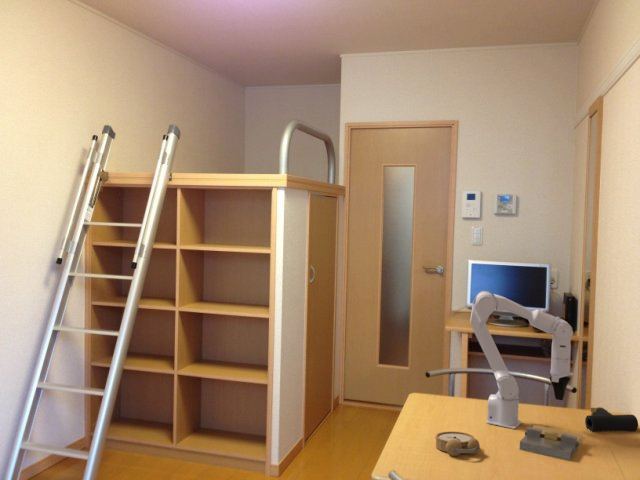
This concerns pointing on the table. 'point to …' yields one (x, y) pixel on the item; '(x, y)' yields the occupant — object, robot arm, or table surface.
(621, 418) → the pipe connector
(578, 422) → the table surface
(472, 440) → the alarm clock
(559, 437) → the tan flat block
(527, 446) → the fixed leaf
